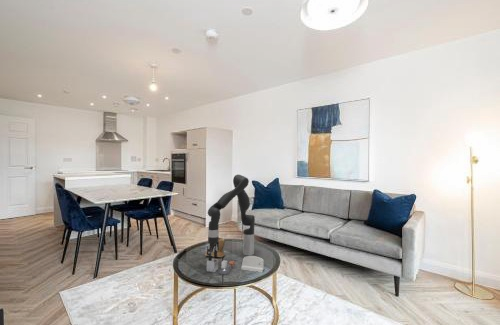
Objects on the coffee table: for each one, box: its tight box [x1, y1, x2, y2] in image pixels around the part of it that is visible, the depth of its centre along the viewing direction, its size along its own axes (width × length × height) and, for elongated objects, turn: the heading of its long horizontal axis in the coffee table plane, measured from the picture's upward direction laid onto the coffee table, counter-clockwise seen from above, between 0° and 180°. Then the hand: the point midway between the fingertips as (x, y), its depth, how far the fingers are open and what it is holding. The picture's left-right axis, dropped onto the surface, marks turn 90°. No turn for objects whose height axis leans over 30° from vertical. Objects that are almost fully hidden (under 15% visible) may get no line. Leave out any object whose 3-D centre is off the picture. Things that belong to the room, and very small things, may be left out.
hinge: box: [240, 255, 265, 273], centre depth 174 cm, size 17×5×10 cm, turn 73°
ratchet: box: [218, 259, 236, 276], centre depth 172 cm, size 19×7×8 cm, turn 162°
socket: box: [206, 258, 219, 273], centre depth 170 cm, size 6×6×7 cm
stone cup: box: [204, 237, 226, 258], centre depth 200 cm, size 15×12×15 cm
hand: (212, 258), depth 170 cm, fingers open, 8 cm apart
